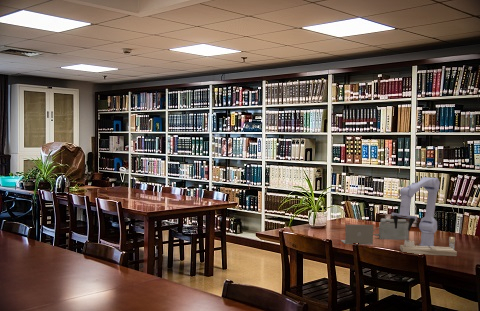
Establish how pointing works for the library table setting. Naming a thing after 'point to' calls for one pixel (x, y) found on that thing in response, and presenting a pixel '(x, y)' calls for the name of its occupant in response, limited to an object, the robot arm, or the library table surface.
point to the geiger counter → (393, 229)
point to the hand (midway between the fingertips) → (402, 229)
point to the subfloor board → (429, 250)
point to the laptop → (358, 234)
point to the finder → (409, 243)
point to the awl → (451, 242)
